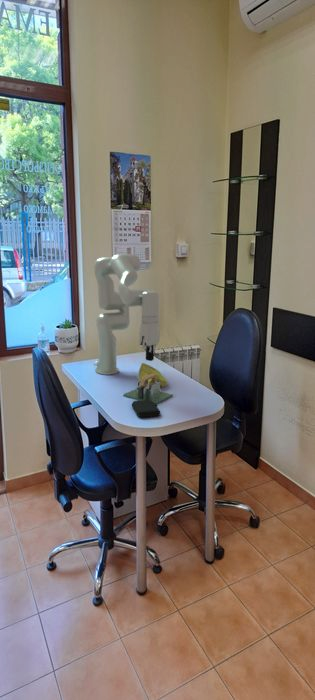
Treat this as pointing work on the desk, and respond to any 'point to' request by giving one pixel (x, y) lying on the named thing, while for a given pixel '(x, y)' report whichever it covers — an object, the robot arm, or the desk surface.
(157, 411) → the carrying case or bag
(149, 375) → the tan rectangular block
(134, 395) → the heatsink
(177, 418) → the desk surface
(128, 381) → the desk surface
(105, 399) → the desk surface
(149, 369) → the plastic component
